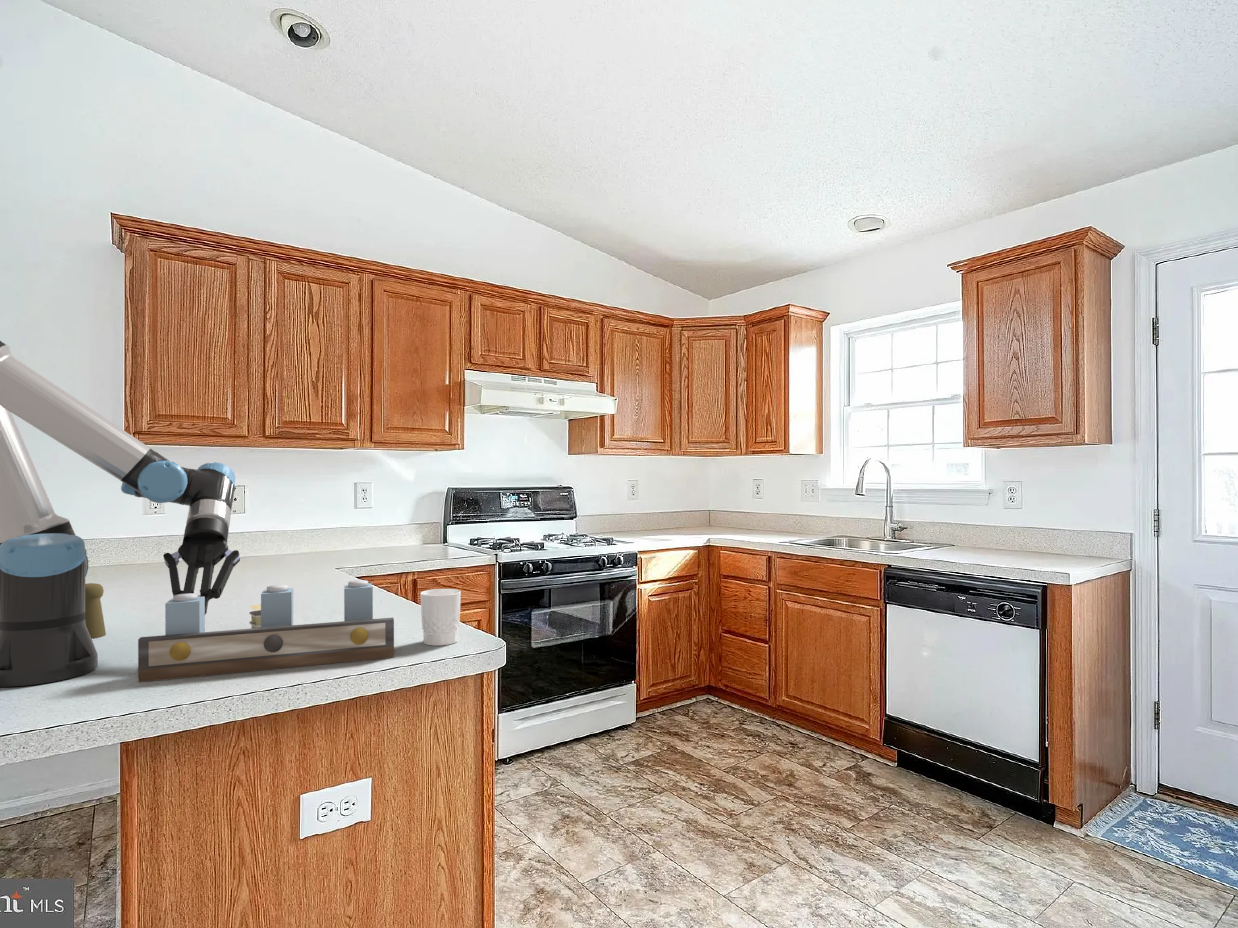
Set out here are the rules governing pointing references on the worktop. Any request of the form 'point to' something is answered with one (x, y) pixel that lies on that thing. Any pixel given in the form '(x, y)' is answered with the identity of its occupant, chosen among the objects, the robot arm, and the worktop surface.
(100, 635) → the cork
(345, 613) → the right plunger
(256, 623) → the stacked layers on plate
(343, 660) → the button console
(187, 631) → the left plunger
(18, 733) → the worktop surface
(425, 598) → the white cup
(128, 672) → the worktop surface
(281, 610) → the middle plunger
